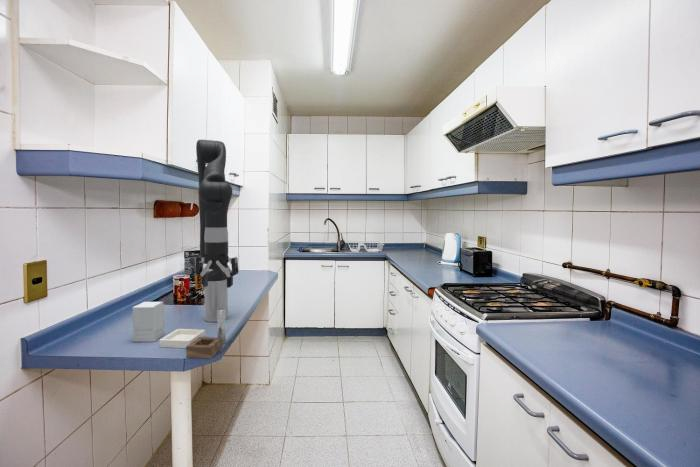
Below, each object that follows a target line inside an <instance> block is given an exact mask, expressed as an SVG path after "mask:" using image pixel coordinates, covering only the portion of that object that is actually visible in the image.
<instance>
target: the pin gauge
mask: <svg viewBox="0 0 700 467" xmlns="http://www.w3.org/2000/svg"><path fill="white" fill-rule="evenodd" d="M217 316H218V321H217V338H222V345H225V344H226V343H227V341H226V340H227V336H226V333H227V331H226V330H227V329H226V321H227V319H225V309H218V310H217Z"/></svg>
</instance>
